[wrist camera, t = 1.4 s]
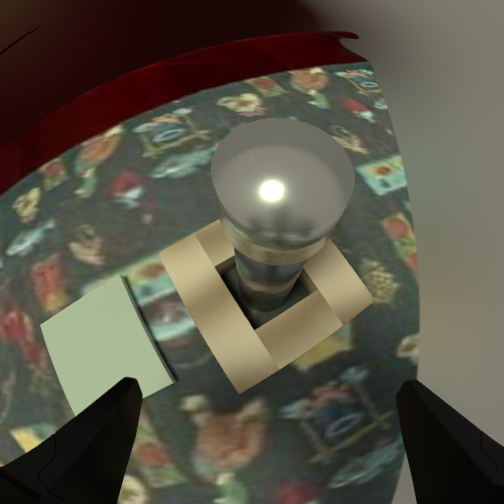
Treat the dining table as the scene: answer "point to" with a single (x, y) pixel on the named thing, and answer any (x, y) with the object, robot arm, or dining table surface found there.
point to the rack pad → (103, 346)
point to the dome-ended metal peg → (278, 201)
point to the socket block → (276, 330)
